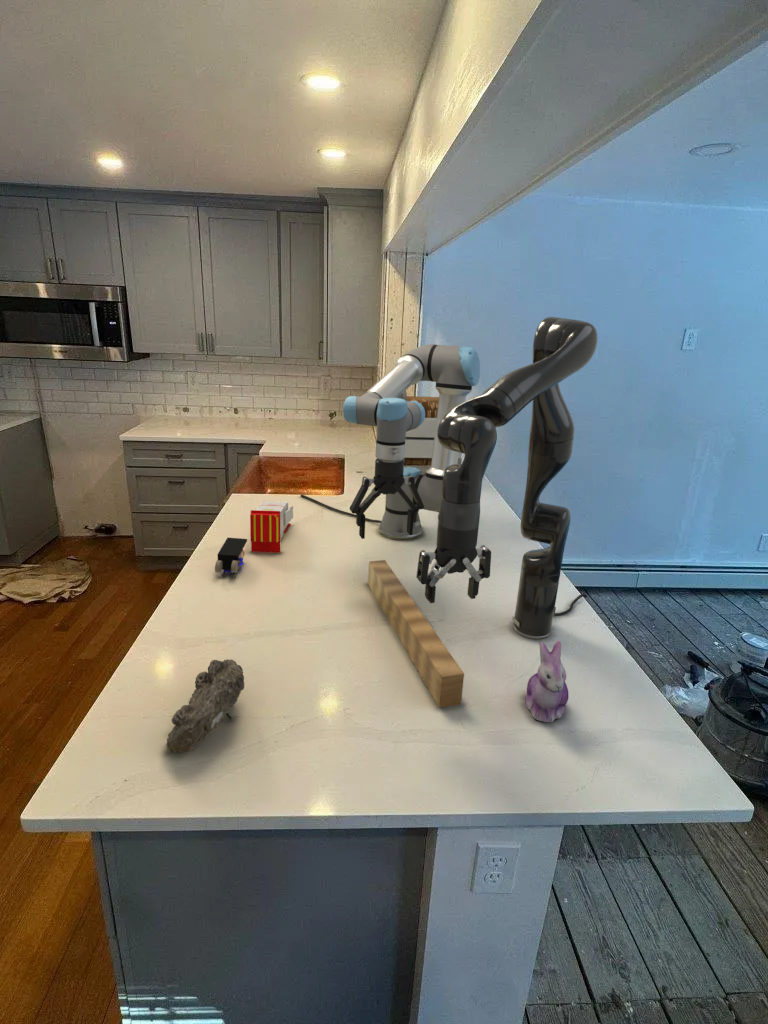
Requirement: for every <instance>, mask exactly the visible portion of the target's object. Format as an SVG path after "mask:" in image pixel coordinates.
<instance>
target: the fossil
mask: <svg viewBox="0 0 768 1024" xmlns="http://www.w3.org/2000/svg"><path fill="white" fill-rule="evenodd" d="M243 670H244V669H243V667H242V665H240V664H237V662H236V661H235V660H234V659H232V658H231V659H227V658H226V659H224V660H223V661H222V660H217V659H212V660H211V661H210V663H209V665H208V666H207V671H201V672H199V673H198V674H197V675H196V676H195V680H194V684H195V685H194V687H195V689H194V690H193V693H192V694H191V697H190V698H189V700H188V704H184V705H182V706H181V707H180V709H177V710H176V711H175V713H174V715H173V716H172V718H171V723H172V724H173V727H172V730H171V731H170V732H168V734H167V738H166V741H167V742H166V745H167V749H168V750H169V751H173V752H174V753H176V754H178V753H182V752H188V751H189V752H192V751H193V750H195V748H196V747H197V746H199V744H200V743H201V742H203V741H204V740H205V739H206V738H207V737H208V736H209V735H210V734H211V733H212V732H214V730H215V729H217V727H218V726H219V724H220V722H221V721H222V720H223V719H224V718H225V716H226V717H227V719H229V720H233V717H232V715H230V714H229V710H230V709H231V708H234V706H235V704H236V703H237V702H238V699H239V697H240V695H241V693H242V691H243V690H245V689H244V688H245V675H244V671H243Z"/></svg>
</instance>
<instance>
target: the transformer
mask: <svg viewBox="0 0 768 1024" xmlns="http://www.w3.org/2000/svg"><path fill="white" fill-rule="evenodd" d="M407 394H408V393H407V390H405V391H404V392H403V393H402V394H401V395H400V396H399V397H398V398H400V399H404V400H406V401H417V402H419V403H420V404H421V405H422V406H423V407H424V410H425V419H424V422H423V423H422V424H421V425H420V426H418V427H417V428H416V429H413V430H410V431H407V432H406V438H405V454H404V459H402V460H403V461H404V466H406V467H417V466H418V467H431V463H432V454H433V446H434V437H435V428H436V420H437V411H438V403H439V396H415V395H414V396H413V395H412V396H411V395H407ZM462 462H463V460H462V453H460V452H459V455H458V463H457V464H462Z"/></svg>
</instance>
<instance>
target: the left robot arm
mask: <svg viewBox="0 0 768 1024" xmlns="http://www.w3.org/2000/svg"><path fill="white" fill-rule="evenodd" d="M480 376H481V362H480V356H479V353H478V352H477V350H476V349H475V348H474V347H470V346H463V345H446V344H445V345H444V344H436V343H435V344H434V343H433V344H432V343H430V344H424V345H421V346H418V347H415V348H412V349H411V350H410V351H407V352H405V353H404V354H403V355H402V356H400V357H399V358H398V359H397V361H396V363H395V364H394V367H393V368H391V370H390V371H388V372H387V373H386V374H385V375H384V376H382V378H380V379H379V380H378V381H376V383H374V384H373V385H372V386H371V387H370V388H369V389H368V390H367V391H366V392H364V393H363V394H362V395H361V396H358V395H350V396H347V397H346V398H345V400H344V402H343V405H342V414H343V415H342V416H343V418H344V420H345V421H346V422H347V423H350V424H355V425H360V426H370V427H376V438H375V458H376V459H375V460H374V476H373V477H372V478H371V477H370V478H369V477H367V476H363V477H362V480H361V485H360V488H359V489H358V491H357V493H356V495H355V497H354V499H353V501H352V503H351V504H350V506H349V511H350V512H348V511H344V510H341V509H338V508H335V507H333V506H330V505H328V504H326V503H323V502H320V501H319V500H317V499H314V498H313V497H309V496H307V495H304V494H300V497H301V498H303V499H306V500H309V501H311V502H313V503H316V504H318V505H319V506H321V507H324V508H326V509H329V510H330V511H331V510H332V511H334V512H336V513H339V514H343V515H346V516H350V517H354V518H355V523H356V525H357V527H359V528H358V529H359V530H358V535H359V537H360V538H361V539H362V540H364V539H365V537H366V522H370V523H376V524H379V525H378V533H379V534H380V535H381V536H382V537H385V538H387V539H389V540H395V541H410V540H415V539H418V538H420V537H421V536H422V535H423V525H422V523H421V518H420V515H419V512H420V510H424V511H430V512H435V513H439V507H440V503H441V497H442V485H443V476H444V471H445V469H446V468H447V467H448V466H450V465H454V464H457V463H458V455H459V452H456V451H452V450H449V449H447V448H445V447H443V446H442V445H441V444H440V442H439V440H438V437H437V430H438V426H439V423H440V421H441V420H442V418H443V417H444V416H445V415H446V414H447V413H448V412H449V411H450V410H452V409H453V408H455V407H456V406H458V405H460V404H462V403H464V402H466V401H467V400H466V398H467V396H468V395H469V394H470V393H471V392H472V390H473V387H475V386H477V385H478V384H479V382H480V381H479V379H480ZM419 382H432V383H435V389H436V391H437V392H438V395H439V396H438V397H439V403H438V411H437V420H436V428H435V437H434V446H433V454H432V463H431V465H430V466H429V468H427V469H426V470H425V474H422V470H421V468H419V467H416V466H406V467H405V465H404V461H403V460H402V459H404V454H405V438H406V432H407V431H410V430H413V429H416V428H417V427H418V426H420V425H421V424H422V423H423V422H424V419H425V410H424V407H423V406H422V405H421V404H420V403H419V402H417V401H406V400H404V399H400V398H398V397H399V396H400V395H401V394H402V393H403V392H404V391H405V390H406V391H407V390H408V388H410V387H411V386H413V385H414V386H415V385H416V384H418V383H419ZM372 485H374V487H373V488H372V489H371V492H369V494H368V495H367V496H366V494H367V492H368V490H369V488H370V487H371V486H372ZM381 495H384V496H385V504H384V505H385V507H384V508H385V509H384V513H383V515H382V519H381V520H379V519H373V518H368V517H366V514H365V512H366V511H367V510H368V509H369V508H370V506H371V505H372V504H373V503H374V502H375V501H376V499H377V498H379V497H380V496H381ZM364 498H365V499H364Z"/></svg>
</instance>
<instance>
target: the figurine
mask: <svg viewBox="0 0 768 1024" xmlns="http://www.w3.org/2000/svg"><path fill="white" fill-rule="evenodd" d="M562 647H563V644H562V641H561V640H557V641H556V642H554V645H553V647H552V649H551V651H550V650H549V648H548V647H547V645H546V644H545V642H543V641H540V642H539V657H540V665H538V668H537V672H536V673H534V674H533V675H531V676H530V677H529V679H528V682H527V685H526V694H525V705H526V709H527V710H528V711H529V712H530V713H531V715H532V718H533V719H534V720H537V721H540V722H544V723H553V722H554V721H555V720H559V719H562V717H563V715H564V713H565V710H566V706H567V703H568V701H569V697H570V696H569V689H568V686H567V683H566V680H567V671H566V669H565V666H564V664H563V661H562V659H561V657H562Z"/></svg>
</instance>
